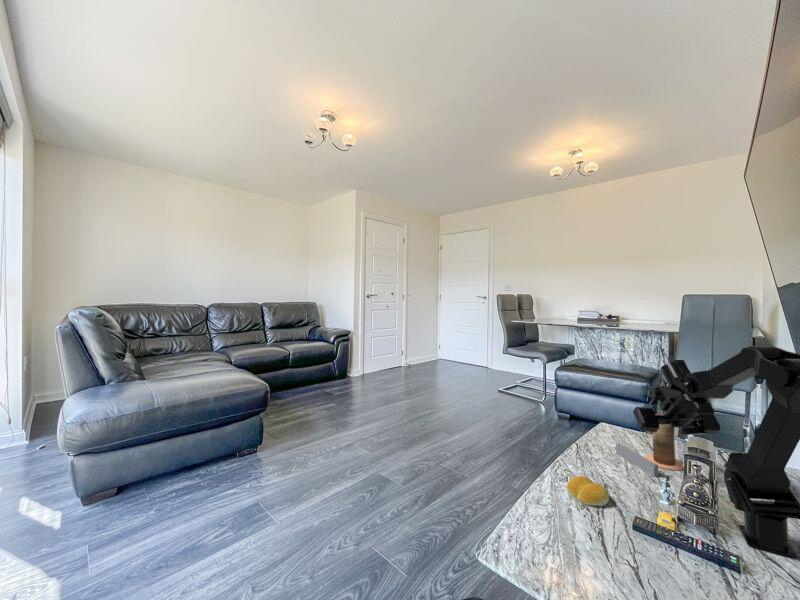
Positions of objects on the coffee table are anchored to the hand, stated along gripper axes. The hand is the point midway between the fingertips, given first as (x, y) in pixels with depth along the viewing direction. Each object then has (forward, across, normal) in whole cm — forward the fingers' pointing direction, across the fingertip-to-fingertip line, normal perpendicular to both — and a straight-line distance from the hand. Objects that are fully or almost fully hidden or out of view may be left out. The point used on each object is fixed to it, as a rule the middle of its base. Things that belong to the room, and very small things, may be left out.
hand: (663, 432), depth 96 cm
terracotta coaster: (+6, 0, +6) cm, 9 cm away
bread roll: (-8, +28, +21) cm, 36 cm away
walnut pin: (+6, 0, +6) cm, 8 cm away
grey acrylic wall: (+5, +8, +7) cm, 12 cm away
